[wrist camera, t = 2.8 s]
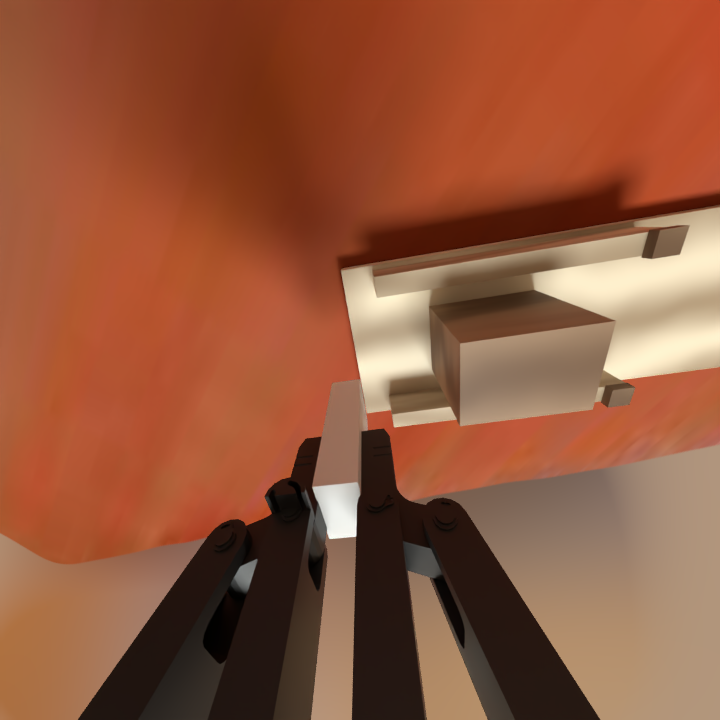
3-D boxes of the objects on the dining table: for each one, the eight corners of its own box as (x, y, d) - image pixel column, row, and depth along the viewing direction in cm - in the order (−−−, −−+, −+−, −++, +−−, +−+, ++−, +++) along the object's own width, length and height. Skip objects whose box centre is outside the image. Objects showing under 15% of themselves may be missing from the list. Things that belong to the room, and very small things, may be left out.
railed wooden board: (341, 268, 19) (337, 279, 15) (830, 186, 17) (964, 175, 13) (366, 405, 24) (368, 439, 20) (743, 355, 22) (821, 383, 18)
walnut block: (428, 306, 19) (460, 343, 13) (534, 289, 18) (616, 321, 12) (432, 369, 21) (459, 425, 15) (526, 356, 20) (592, 409, 15)
